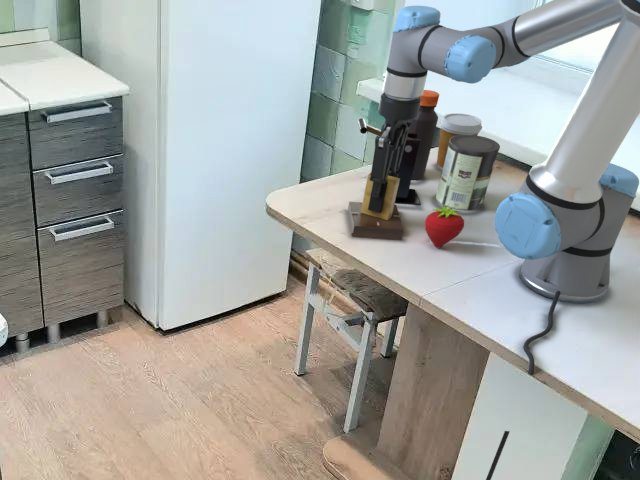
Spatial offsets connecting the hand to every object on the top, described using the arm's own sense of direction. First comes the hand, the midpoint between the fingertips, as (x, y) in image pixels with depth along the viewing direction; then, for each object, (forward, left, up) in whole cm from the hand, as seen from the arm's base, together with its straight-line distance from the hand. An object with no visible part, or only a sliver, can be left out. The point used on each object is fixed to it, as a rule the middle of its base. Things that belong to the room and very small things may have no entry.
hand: (377, 208), depth 167 cm
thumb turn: (0, 0, -2) cm, 2 cm away
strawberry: (-8, -12, -4) cm, 15 cm away
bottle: (+27, -11, -4) cm, 30 cm away
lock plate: (0, 0, -4) cm, 4 cm away
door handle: (+14, -1, +9) cm, 17 cm away
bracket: (+14, -6, -4) cm, 16 cm away
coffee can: (+14, -20, -4) cm, 25 cm away
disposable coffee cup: (+35, -22, -4) cm, 42 cm away
